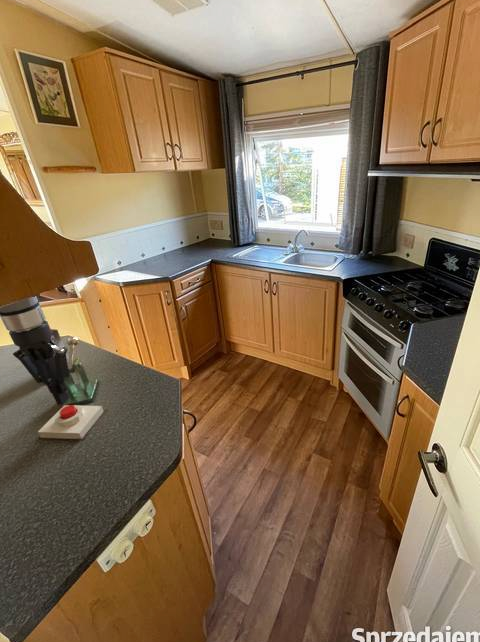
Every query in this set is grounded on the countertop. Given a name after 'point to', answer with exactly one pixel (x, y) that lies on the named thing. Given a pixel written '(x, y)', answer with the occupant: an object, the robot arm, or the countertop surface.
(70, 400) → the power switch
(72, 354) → the lever
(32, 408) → the countertop surface
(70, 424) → the white button base
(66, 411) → the stop button
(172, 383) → the countertop surface
